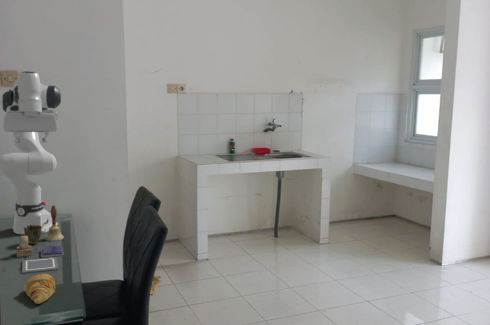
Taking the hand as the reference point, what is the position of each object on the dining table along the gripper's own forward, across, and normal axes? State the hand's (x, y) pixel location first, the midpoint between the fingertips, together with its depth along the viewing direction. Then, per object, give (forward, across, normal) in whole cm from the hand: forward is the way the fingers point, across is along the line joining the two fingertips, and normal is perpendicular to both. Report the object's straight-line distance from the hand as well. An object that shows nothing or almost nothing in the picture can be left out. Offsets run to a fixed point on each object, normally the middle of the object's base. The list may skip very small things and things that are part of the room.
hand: (31, 142), depth 190 cm
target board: (+50, -2, -3) cm, 50 cm away
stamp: (+45, +4, -18) cm, 49 cm away
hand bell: (+40, -10, -36) cm, 55 cm away
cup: (+42, -1, -31) cm, 52 cm away
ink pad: (+46, -7, -16) cm, 49 cm away
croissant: (+58, 0, +22) cm, 62 cm away
